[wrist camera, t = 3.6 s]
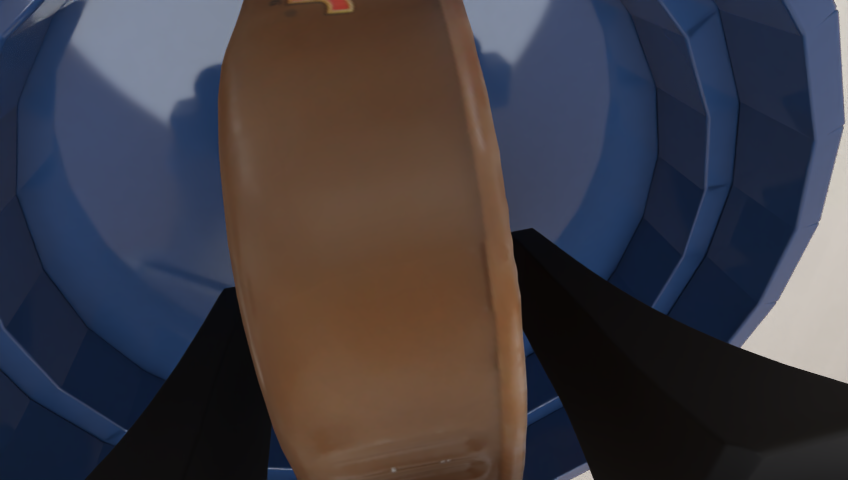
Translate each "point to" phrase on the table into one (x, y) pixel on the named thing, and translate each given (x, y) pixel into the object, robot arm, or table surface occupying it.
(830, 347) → the table surface
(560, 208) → the bowl
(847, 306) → the table surface
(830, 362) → the table surface
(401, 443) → the tin
